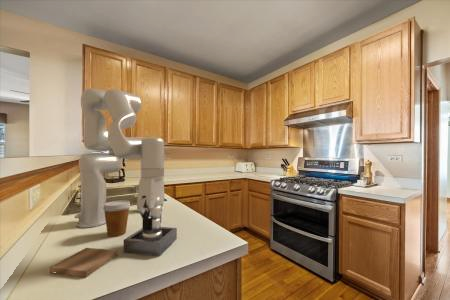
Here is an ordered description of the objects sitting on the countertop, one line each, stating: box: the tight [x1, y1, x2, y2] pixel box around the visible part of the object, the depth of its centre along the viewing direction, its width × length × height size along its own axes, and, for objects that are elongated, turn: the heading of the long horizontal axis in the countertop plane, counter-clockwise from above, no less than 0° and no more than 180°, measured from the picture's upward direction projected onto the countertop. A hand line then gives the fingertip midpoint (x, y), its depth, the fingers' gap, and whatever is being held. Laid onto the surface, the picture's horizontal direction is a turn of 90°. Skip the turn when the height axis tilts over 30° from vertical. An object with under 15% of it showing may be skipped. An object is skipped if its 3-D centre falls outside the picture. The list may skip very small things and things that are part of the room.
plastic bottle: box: [142, 197, 163, 241], centre depth 68 cm, size 6×7×20 cm
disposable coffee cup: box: [103, 199, 131, 238], centre depth 77 cm, size 10×10×12 cm
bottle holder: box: [123, 226, 178, 257], centre depth 67 cm, size 12×12×4 cm
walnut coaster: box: [49, 247, 118, 278], centre depth 56 cm, size 11×11×2 cm
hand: (152, 226), depth 67 cm, fingers closed on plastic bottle, 5 cm apart
